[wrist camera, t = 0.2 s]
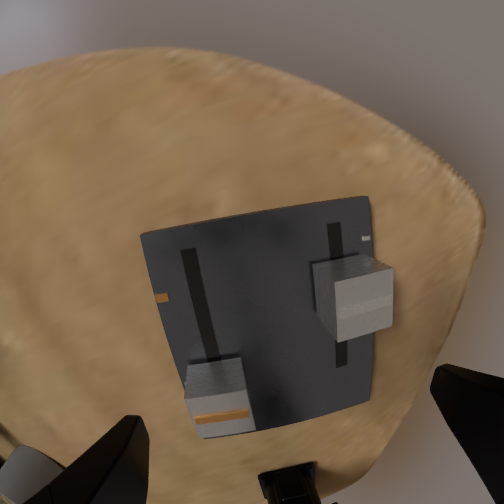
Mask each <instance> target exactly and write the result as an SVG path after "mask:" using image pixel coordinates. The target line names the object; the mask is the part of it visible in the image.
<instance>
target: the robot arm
mask: <svg viewBox="0 0 504 504" xmlns="http://www.w3.org/2000/svg"><path fill="white" fill-rule="evenodd" d="M430 391H431V394H432V396H433V398H434V400H435V401H436V404H437V406H438V407H439V409H440V411H441V413H442V415H443V417H444V419H445V421H446V423H447V424H448V426H449V428H450V429H451V431H452V432H453V434H454V436H455V437H456V439H457V440H458V442H459V443H460V445H461V447H462V448H463V450H464V451H465V453H466V454H467V456H468V458H469V459H470V461H471V463H472V464H473V466H474V467H475V469H476V471H477V472H478V474H479V476H480V477H481V479H482V481H483V482H484V484H485V486H486V487H487V489H488V491H489V493H490V494H491V496H492V498H493V500H494V502H495V504H504V378H501V377H497V376H493V375H489V374H485V373H481V372H477V371H473V370H469V369H466V368H462V367H458V366H454V365H451V364H443V365H441V366H438V367H437V368H436V369H435V372H434V376H433V379H432V382H431V385H430ZM148 476H149V435H148V432H147V430H146V427H145V425H144V422H143V419H142V418H141V416H139V415H126V416H124V417H123V418H122V419H121V420H120V421H119V422H118V423H117V424H116V425H115V426H113V427H112V428H111V429H110V430H109V431H108V432H107V433H106V434H105V435H103V436H102V437H101V438H100V439H99V440H98V441H97V442H96V443H95V444H93V445H92V446H91V447H90V448H89V449H88V450H87V451H85V452H84V453H83V454H82V455H81V456H80V457H79V458H77V459H76V460H75V461H74V462H73V463H72V464H71V465H69V466H68V467H67V468H66V469H65V470H64V471H62V472H61V473H60V474H59V475H58V476H57V477H55V478H54V479H53V480H52V481H51V482H50V483H49V484H47V485H46V486H45V487H43V488H42V489H41V490H40V491H38V492H37V493H36V494H35V495H33V496H32V497H31V498H29V499H28V500H27V501H25V502H24V503H22V504H146V499H147V492H148ZM258 479H259V483H260V486H261V489H262V492H263V495H264V498H265V499H267V500H268V504H321V501H320V498H319V496H318V493H317V490H316V487H315V465H314V463H308V464H304V465H300V466H296V467H292V468H287V469H283V470H278V471H273V472H268V473H263V474H259V475H258ZM332 504H338V503H337V502H335V503H332Z"/></svg>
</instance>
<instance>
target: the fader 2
mask: <svg viewBox="0 0 504 504" xmlns="http://www.w3.org/2000/svg"><path fill="white" fill-rule="evenodd" d="M312 265H313V275H314V285H315V296H316V308H317V317H318V318H319V320H320V321H321V322H322V323H323V325H324V326H325V327H326V328H327V330H328V331H329V332H330V334H331V335H332V336H333V337H334V339H335V340H336V341H337V343H338V342H342V341H345V340H349V339H352V338H356V337H359V336H362V335H365V334H369V333H372V332H375V331H378V330H381V329H384V328H387V327H390V326H392V321H393V268H392V267H390V266H388V265H386V264H384V263H382V262H380V261H378V260H376V259H374V258H372V257H370V256H367V255H365V254H360V255H355V256H351V257H346V258H341V259H336V260H331V261H327V262H322V263H317V264H312Z"/></svg>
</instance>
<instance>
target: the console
mask: <svg viewBox="0 0 504 504" xmlns="http://www.w3.org/2000/svg"><path fill="white" fill-rule="evenodd" d="M140 238H141V243H142V247H143V251H144V256H145V260H146V264H147V268H148V272H149V276H150V280H151V284H152V288H153V292H154V296H155V299H156V303H157V306H158V310H159V313H160V317H161V320H162V324H163V327H164V330H165V334H166V337H167V340H168V343H169V346H170V349H171V352H172V355H173V358H174V361H175V364H176V367H177V370H178V373H179V376H180V379H181V381H182V384H183V387H184V390H185V385H186V376H187V367H188V365H195V364H202V363H208V362H214V361H220V360H226V359H232V358H237V357H241V361H242V366H243V370H244V375H245V379H246V384H247V388H248V392H249V397H250V402H251V407H252V412H253V418H254V423H255V428H256V430H254V431H248V432H242V433H236V434H230V435H223V436H215V437H207V438H204V439H209V438H217V437H225V436H232V435H238V434H244V433H250V432H255V431H261V430H266V429H271V428H275V427H280V426H284V425H289V424H293V423H297V422H301V421H305V420H308V419H312V418H316V417H319V416H323V415H326V414H330V413H333V412H336V411H339V410H342V409H346V408H349V407H352V406H355V405H357V404H360V403H363V402H366V401H369V399H370V389H371V376H372V362H373V341H374V332H372V333H369V334H365V335H362V336H359V337H356V338H352V339H349V340H345V341H342V342H338V343H337V341H336V340H335V339H334V337H333V336H332V335H331V334H330V332H329V331H328V330H327V328H326V327H325V326H324V325H323V323H322V322H321V321H320V320H319V318H318V317H317V308H316V296H315V285H314V275H313V265H312V264H317V263H322V262H327V261H331V260H336V259H341V258H346V257H351V256H355V255H360V254H365V255H367V256H370V257H372V258H373V247H372V232H371V219H370V208H369V198H368V196H357V197H349V198H342V199H335V200H328V201H321V202H314V203H307V204H301V205H294V206H288V207H281V208H275V209H269V210H263V211H257V212H251V213H245V214H239V215H234V216H228V217H222V218H217V219H211V220H206V221H201V222H195V223H190V224H185V225H180V226H174V227H169V228H164V229H159V230H155V231H150V232H145V233H142V234H141V235H140Z"/></svg>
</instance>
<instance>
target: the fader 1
mask: <svg viewBox="0 0 504 504" xmlns="http://www.w3.org/2000/svg"><path fill="white" fill-rule="evenodd" d="M184 401H185V403H186V406H187V408H188V411H189V413H190V416H191V418H192V420H193V423H194V425H195V428H196V430H197V432H198V434H199V437H200V438H207V437H215V436H223V435H230V434H236V433H242V432H248V431H254V430H256V428H255V423H254V418H253V412H252V407H251V402H250V397H249V392H248V388H247V384H246V379H245V375H244V370H243V366H242V361H241V357H237V358H232V359H226V360H220V361H214V362H208V363H202V364H195V365H188V367H187V376H186V385H185V394H184Z"/></svg>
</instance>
